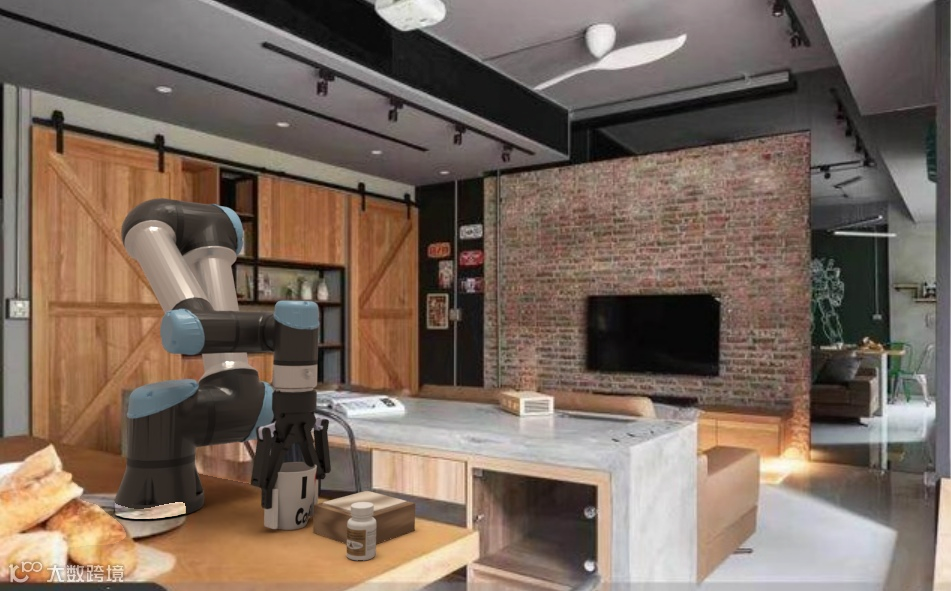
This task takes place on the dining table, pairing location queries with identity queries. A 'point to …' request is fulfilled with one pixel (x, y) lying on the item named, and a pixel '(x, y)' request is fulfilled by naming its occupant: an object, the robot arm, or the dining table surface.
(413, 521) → the pedestal
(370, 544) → the pill bottle
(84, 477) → the dining table surface
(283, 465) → the cup
